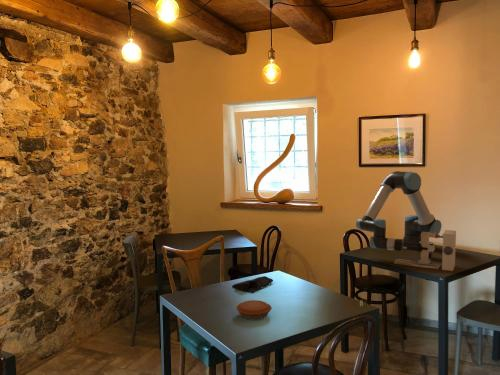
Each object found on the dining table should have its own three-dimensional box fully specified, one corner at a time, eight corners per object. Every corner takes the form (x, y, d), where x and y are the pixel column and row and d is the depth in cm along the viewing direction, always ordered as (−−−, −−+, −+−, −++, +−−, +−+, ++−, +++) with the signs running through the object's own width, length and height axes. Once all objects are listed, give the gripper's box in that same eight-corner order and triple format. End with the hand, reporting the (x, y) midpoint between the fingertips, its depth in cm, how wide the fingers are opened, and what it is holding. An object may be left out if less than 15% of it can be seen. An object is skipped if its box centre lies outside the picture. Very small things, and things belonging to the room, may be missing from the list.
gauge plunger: (435, 237, 268) (436, 232, 268) (453, 239, 263) (454, 234, 263) (435, 238, 265) (435, 233, 265) (453, 240, 260) (453, 235, 260)
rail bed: (397, 259, 284) (397, 257, 284) (440, 264, 272) (440, 262, 272) (393, 263, 275) (393, 261, 275) (438, 269, 262) (438, 267, 262)
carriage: (420, 260, 276) (421, 231, 274) (435, 262, 271) (436, 232, 269) (418, 263, 270) (419, 233, 268) (434, 265, 265) (435, 234, 263)
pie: (250, 325, 181) (250, 313, 181) (229, 313, 194) (229, 302, 193) (278, 316, 190) (278, 305, 190) (257, 306, 203) (257, 295, 202)
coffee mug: (430, 255, 294) (431, 241, 293) (434, 259, 285) (435, 244, 284) (412, 255, 295) (413, 241, 294) (416, 258, 286) (416, 243, 286)
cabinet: (444, 264, 271) (445, 230, 269) (454, 266, 268) (456, 230, 266) (441, 269, 260) (443, 233, 258) (452, 271, 257) (454, 234, 255)
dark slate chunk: (277, 284, 236) (277, 276, 235) (250, 294, 219) (250, 285, 219) (256, 279, 246) (256, 270, 245) (228, 288, 230) (228, 279, 229)
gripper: (397, 247, 287) (435, 251, 275) (391, 253, 272) (432, 257, 260) (397, 236, 286) (436, 239, 275) (392, 241, 271) (432, 245, 260)
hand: (434, 248), depth 268 cm, fingers closed on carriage, 4 cm apart
